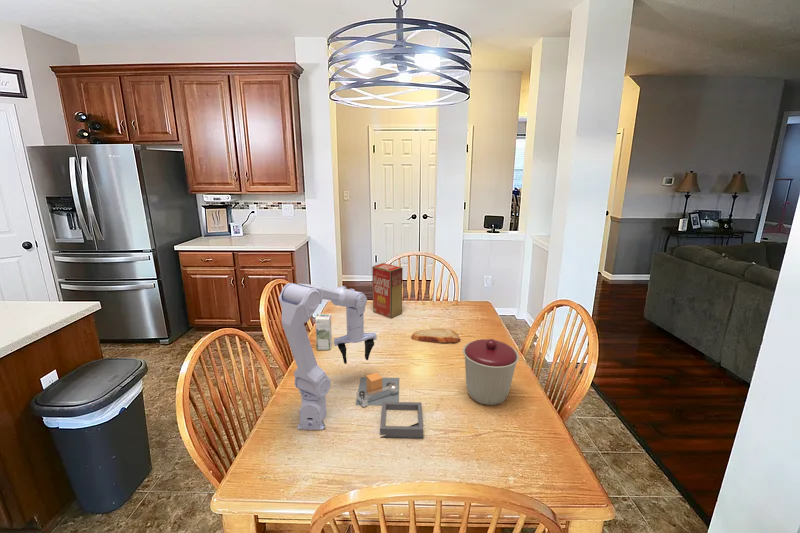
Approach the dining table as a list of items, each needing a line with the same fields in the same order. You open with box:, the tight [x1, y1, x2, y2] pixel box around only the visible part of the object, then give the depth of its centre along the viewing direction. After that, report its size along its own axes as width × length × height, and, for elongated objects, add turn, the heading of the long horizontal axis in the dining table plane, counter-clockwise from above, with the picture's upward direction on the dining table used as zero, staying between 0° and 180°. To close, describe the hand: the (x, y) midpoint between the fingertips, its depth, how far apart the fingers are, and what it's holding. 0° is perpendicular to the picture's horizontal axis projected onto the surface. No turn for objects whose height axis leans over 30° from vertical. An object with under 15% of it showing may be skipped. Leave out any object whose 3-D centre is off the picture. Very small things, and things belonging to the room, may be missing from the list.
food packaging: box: [371, 262, 403, 319], centre depth 194 cm, size 13×9×25 cm
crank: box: [356, 383, 398, 408], centre depth 126 cm, size 14×5×4 cm, turn 119°
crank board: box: [355, 376, 400, 407], centre depth 130 cm, size 16×14×2 cm
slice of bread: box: [410, 327, 461, 344], centre depth 170 cm, size 18×18×4 cm
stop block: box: [366, 372, 383, 392], centre depth 128 cm, size 4×4×6 cm
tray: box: [379, 401, 424, 440], centre depth 115 cm, size 12×12×3 cm
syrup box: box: [314, 313, 333, 351], centre depth 159 cm, size 6×6×14 cm
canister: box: [462, 338, 520, 406], centre depth 127 cm, size 18×18×21 cm
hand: (355, 360), depth 133 cm, fingers open, 7 cm apart
